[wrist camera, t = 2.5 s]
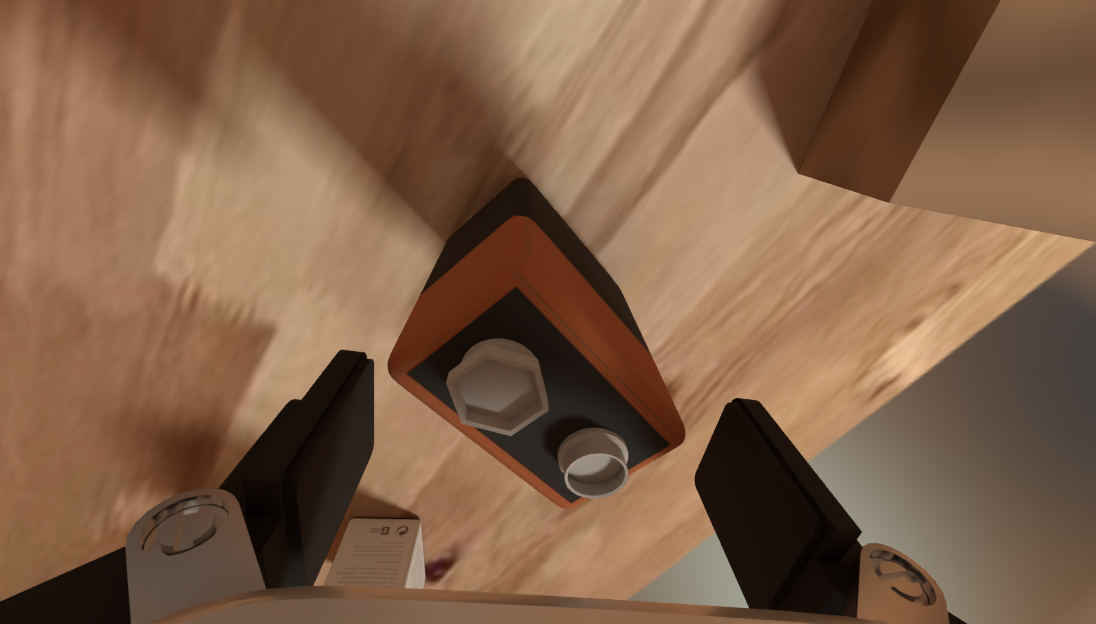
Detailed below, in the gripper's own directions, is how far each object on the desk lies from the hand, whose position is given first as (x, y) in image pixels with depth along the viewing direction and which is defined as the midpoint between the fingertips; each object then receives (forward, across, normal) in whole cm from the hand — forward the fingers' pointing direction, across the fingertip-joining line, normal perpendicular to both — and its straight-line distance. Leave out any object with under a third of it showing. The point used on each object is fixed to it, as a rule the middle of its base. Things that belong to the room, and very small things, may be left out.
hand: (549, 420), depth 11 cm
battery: (+8, 0, -1) cm, 9 cm away
